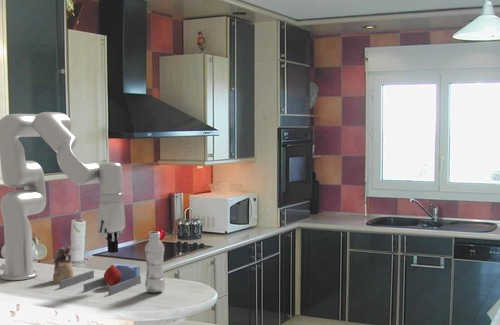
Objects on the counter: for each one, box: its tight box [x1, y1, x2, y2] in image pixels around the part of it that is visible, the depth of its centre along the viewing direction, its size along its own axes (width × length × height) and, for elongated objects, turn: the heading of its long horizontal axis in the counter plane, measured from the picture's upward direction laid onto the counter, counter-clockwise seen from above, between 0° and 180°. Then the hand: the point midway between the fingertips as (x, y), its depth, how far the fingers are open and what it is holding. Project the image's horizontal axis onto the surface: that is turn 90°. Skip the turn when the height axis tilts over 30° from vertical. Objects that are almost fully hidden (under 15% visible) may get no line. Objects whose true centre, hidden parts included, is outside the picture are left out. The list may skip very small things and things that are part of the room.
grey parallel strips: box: [59, 270, 142, 296], centre depth 211 cm, size 21×17×2 cm
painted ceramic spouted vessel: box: [52, 247, 75, 284], centre depth 218 cm, size 7×7×12 cm
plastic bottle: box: [144, 231, 166, 294], centre depth 201 cm, size 6×7×20 cm
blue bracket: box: [113, 263, 141, 283], centre depth 214 cm, size 10×4×6 cm, turn 65°
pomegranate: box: [103, 263, 121, 287], centre depth 208 cm, size 6×6×8 cm
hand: (113, 252), depth 208 cm, fingers closed
